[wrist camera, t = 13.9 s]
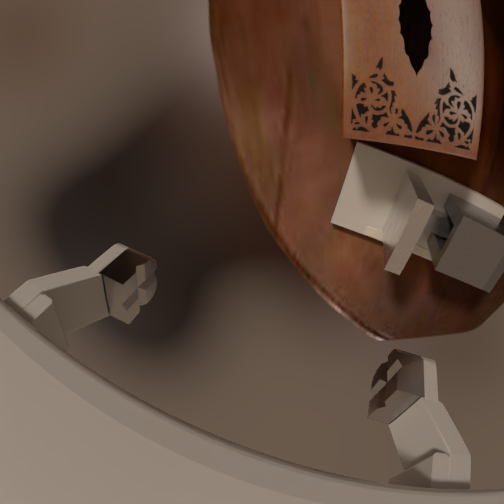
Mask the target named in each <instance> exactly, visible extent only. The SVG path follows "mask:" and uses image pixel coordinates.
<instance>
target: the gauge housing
mask: <svg viewBox="0 0 504 504" xmlns="http://www.w3.org/2000/svg"><path fill="white" fill-rule="evenodd" d="M444 207H445V209H446V211H447V213H448V215H449V217H450V219H451V220H452V222H453V224H454V227H453V229H452V231H451V233H450V235H449V237H448V238H447V239H446V238H444V237H442V236H439V235H437V234H435V233H432V232H431V234H430V236H429V238H428V240H427V244H428V247H429V251H430V254H431V258H432V262H433V265H434V269H435V270H436V271H438V272H441V273H443V274H446V275H448V276H451V277H453V278H456V279H458V280H460V281H463V282H465V283H467V284H470V285H472V286H475V287H477V288H479V289H481V290H484V291H486V292H488V293H490V291H491V290H492V289H493V287H494V286H495V284H496V283H497V281H498V280H499V278H500V276H501V275H502V273H503V272H504V222H503V221H502V220H501V219H500V218H498V217H496V216H494V215H493V214H491V213H489V212H487V211H485V210H483V209H481V208H479V207H477V206H475V205H473V204H471V203H469V202H467V201H465V200H463V199H461V198H459V197H457V196H455V195H453V194H451V193H449V196H448V198H447V200H446V202H445V205H444Z"/></svg>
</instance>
